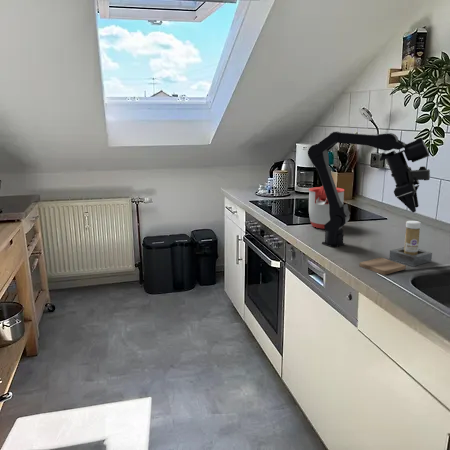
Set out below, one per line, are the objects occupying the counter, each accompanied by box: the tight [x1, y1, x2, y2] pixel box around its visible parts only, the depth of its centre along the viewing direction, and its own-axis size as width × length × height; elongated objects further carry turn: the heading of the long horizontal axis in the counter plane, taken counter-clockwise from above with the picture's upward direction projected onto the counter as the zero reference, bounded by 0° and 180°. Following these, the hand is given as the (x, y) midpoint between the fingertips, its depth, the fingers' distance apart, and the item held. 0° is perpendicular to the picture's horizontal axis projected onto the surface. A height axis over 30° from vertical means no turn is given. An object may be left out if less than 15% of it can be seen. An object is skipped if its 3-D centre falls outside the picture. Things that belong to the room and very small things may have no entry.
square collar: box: [388, 247, 433, 267], centre depth 145 cm, size 9×9×3 cm
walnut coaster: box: [358, 256, 407, 276], centre depth 138 cm, size 10×10×1 cm
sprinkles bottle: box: [404, 220, 422, 255], centre depth 144 cm, size 5×5×13 cm
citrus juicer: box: [308, 185, 345, 230], centre depth 190 cm, size 16×17×20 cm
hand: (415, 209), depth 148 cm, fingers open, 9 cm apart
